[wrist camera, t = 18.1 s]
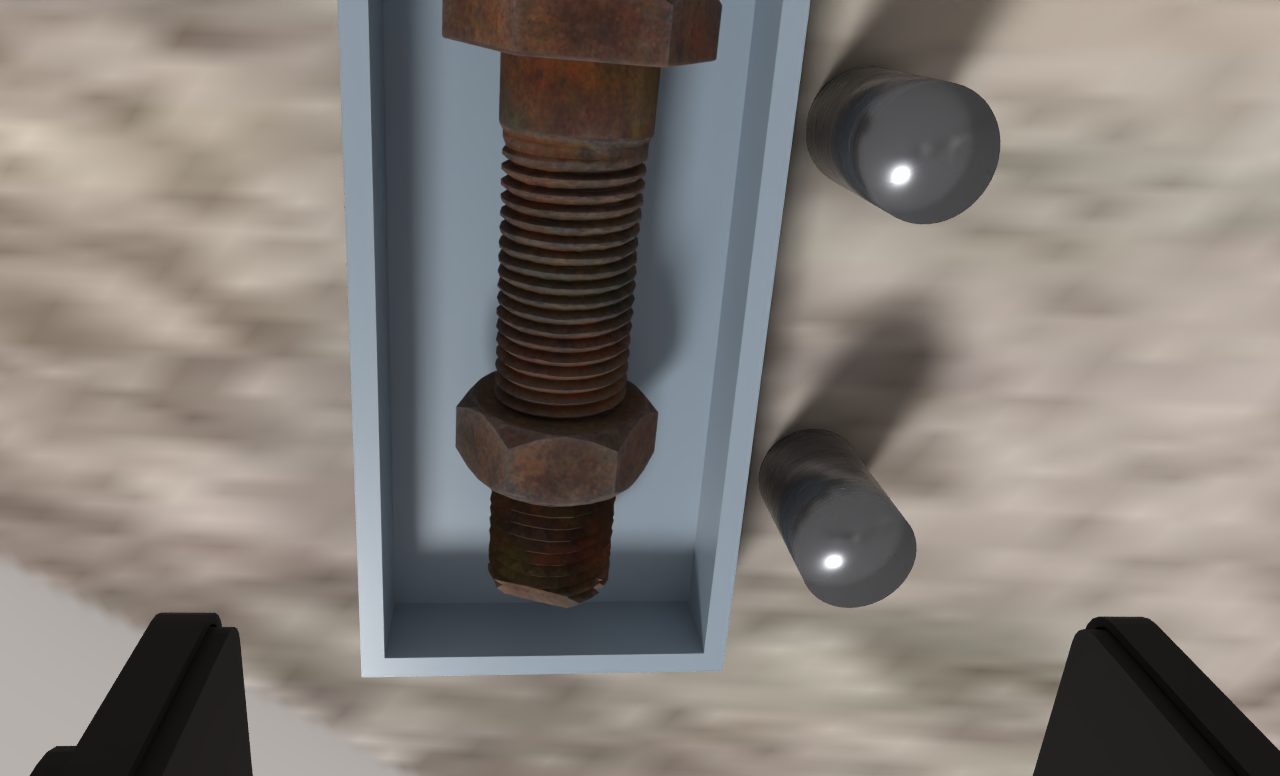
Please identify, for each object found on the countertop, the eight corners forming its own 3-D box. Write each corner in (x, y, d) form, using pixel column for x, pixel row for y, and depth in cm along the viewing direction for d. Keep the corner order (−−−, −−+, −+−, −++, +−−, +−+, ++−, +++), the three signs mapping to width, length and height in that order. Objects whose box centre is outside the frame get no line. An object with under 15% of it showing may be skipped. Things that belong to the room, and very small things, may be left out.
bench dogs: (928, 71, 25) (1013, 86, 21) (849, 520, 29) (905, 607, 25) (814, 62, 24) (877, 76, 20) (752, 520, 29) (793, 608, 25)
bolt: (518, 507, 29) (544, -36, 23) (674, 555, 28) (745, -15, 22) (403, 610, 24) (398, -47, 18) (585, 676, 23) (646, -21, 17)
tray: (784, -80, 23) (822, -90, 20) (702, 608, 30) (722, 670, 27) (355, -122, 21) (332, -138, 19) (375, 611, 29) (361, 677, 26)
